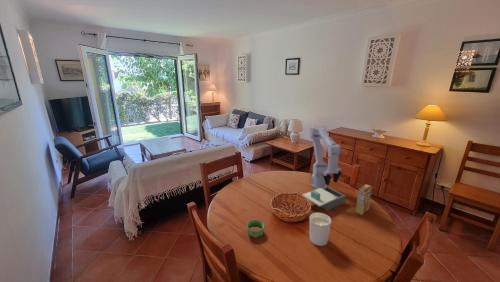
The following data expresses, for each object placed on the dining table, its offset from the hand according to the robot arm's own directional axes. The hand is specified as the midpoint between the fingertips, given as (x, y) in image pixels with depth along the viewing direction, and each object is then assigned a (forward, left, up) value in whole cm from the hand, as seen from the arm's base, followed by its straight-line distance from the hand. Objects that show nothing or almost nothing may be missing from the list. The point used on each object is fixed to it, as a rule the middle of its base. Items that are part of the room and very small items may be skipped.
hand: (331, 183), depth 138 cm
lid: (+2, -12, -5) cm, 13 cm away
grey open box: (+2, -5, -10) cm, 12 cm away
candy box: (+20, +4, -11) cm, 23 cm away
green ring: (+2, -59, -11) cm, 60 cm away
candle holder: (+23, -35, -11) cm, 43 cm away
